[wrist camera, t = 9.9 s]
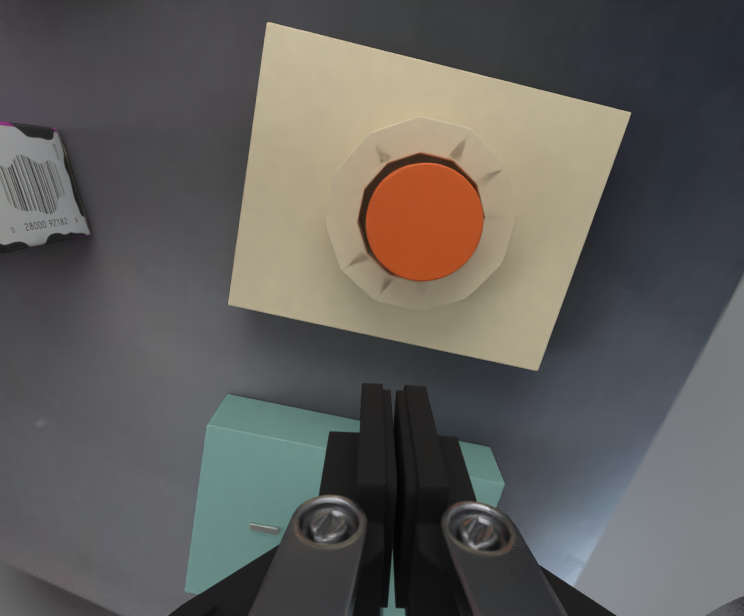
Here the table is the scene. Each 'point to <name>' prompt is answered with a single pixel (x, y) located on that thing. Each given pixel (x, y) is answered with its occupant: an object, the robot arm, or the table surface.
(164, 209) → the table surface
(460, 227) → the power button
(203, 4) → the table surface
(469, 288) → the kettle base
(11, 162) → the candy bar box
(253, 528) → the dial panel
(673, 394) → the table surface
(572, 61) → the table surface
